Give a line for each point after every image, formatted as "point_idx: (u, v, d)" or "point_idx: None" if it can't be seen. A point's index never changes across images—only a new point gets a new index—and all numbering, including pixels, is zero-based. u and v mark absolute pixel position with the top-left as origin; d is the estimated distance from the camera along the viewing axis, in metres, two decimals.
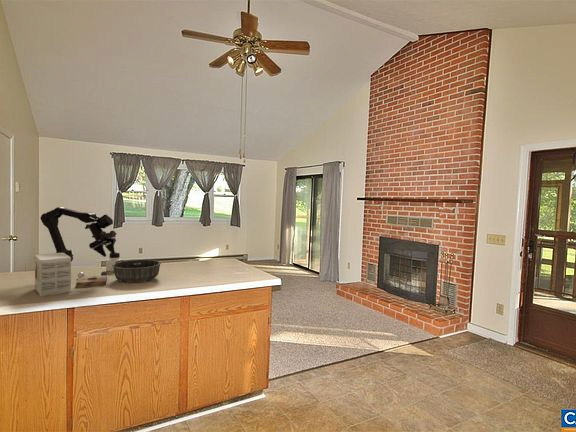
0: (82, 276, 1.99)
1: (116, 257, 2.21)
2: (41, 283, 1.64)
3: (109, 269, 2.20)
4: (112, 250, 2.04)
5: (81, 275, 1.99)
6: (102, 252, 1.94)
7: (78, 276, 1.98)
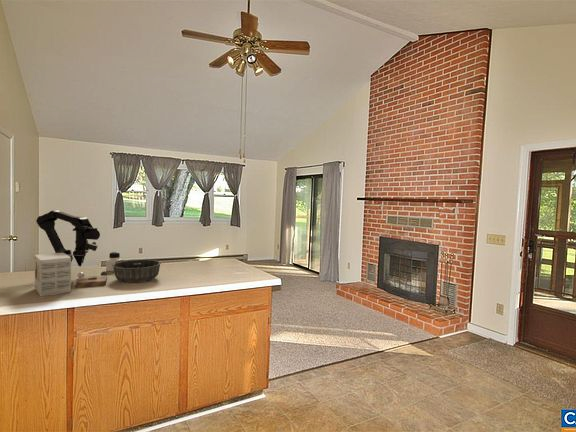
0: (82, 276, 1.99)
1: (116, 257, 2.21)
2: (41, 283, 1.64)
3: (109, 269, 2.20)
4: (82, 259, 2.04)
5: (81, 275, 1.99)
6: (80, 261, 1.95)
7: (78, 276, 1.98)
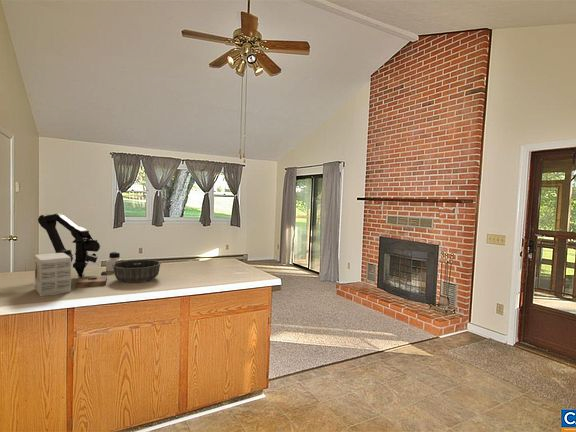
0: (82, 276, 1.99)
1: (116, 257, 2.21)
2: (41, 283, 1.64)
3: (109, 269, 2.20)
4: None
5: None
6: (80, 273, 1.97)
7: (78, 276, 1.98)
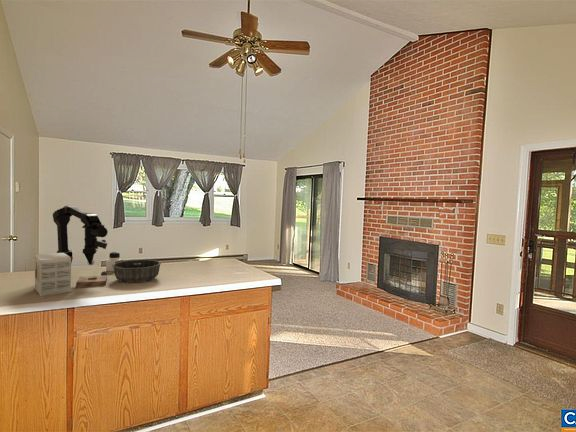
0: (92, 263, 1.91)
1: (116, 257, 2.21)
2: (41, 283, 1.64)
3: (109, 269, 2.20)
4: None
5: None
6: (90, 259, 1.89)
7: (88, 263, 1.90)
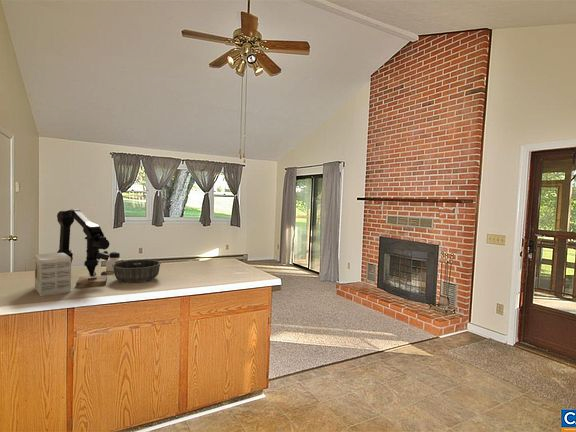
0: (94, 274, 1.89)
1: (116, 257, 2.21)
2: (41, 283, 1.64)
3: (109, 269, 2.20)
4: None
5: None
6: (92, 271, 1.87)
7: (89, 274, 1.89)
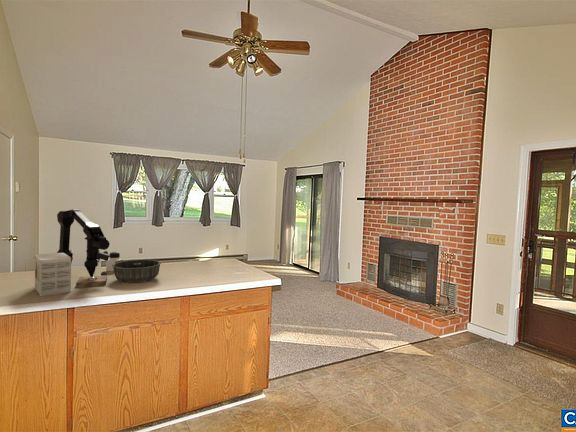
0: None
1: (116, 257, 2.21)
2: (41, 283, 1.64)
3: (109, 269, 2.20)
4: (93, 269, 1.94)
5: None
6: (91, 272, 1.86)
7: None
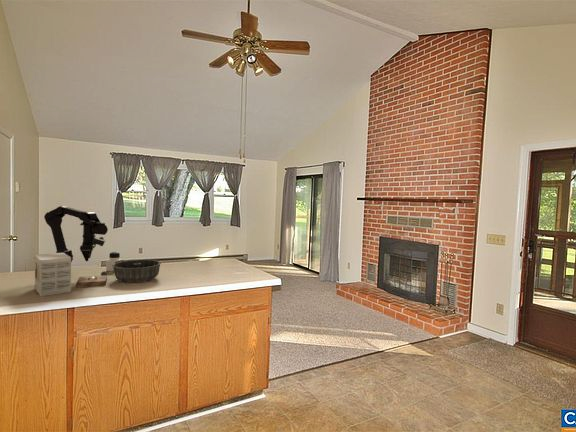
0: None
1: (116, 257, 2.21)
2: (41, 283, 1.64)
3: (109, 269, 2.20)
4: (89, 254, 2.02)
5: None
6: (87, 256, 1.93)
7: None
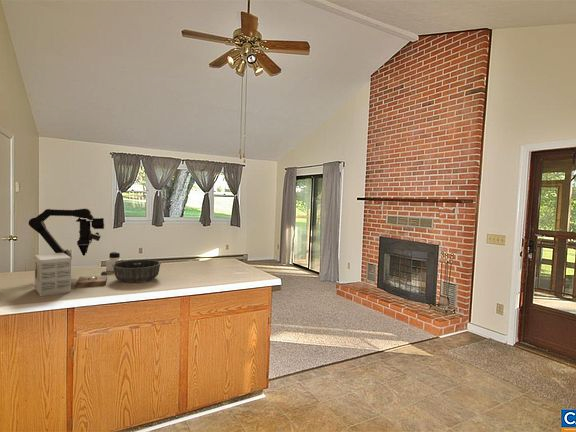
0: None
1: (116, 257, 2.21)
2: (41, 283, 1.64)
3: (109, 269, 2.20)
4: (86, 249, 2.11)
5: None
6: (84, 251, 2.02)
7: None
